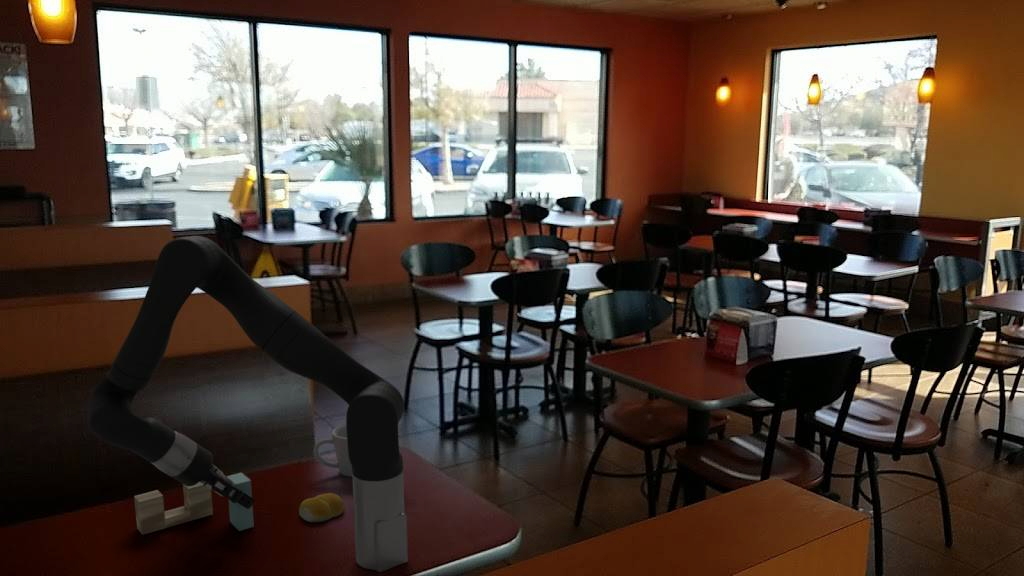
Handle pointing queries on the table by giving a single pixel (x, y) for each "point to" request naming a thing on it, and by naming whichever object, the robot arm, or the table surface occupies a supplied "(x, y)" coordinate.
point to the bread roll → (321, 507)
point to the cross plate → (238, 513)
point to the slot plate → (156, 518)
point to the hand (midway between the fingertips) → (243, 497)
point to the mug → (337, 451)
